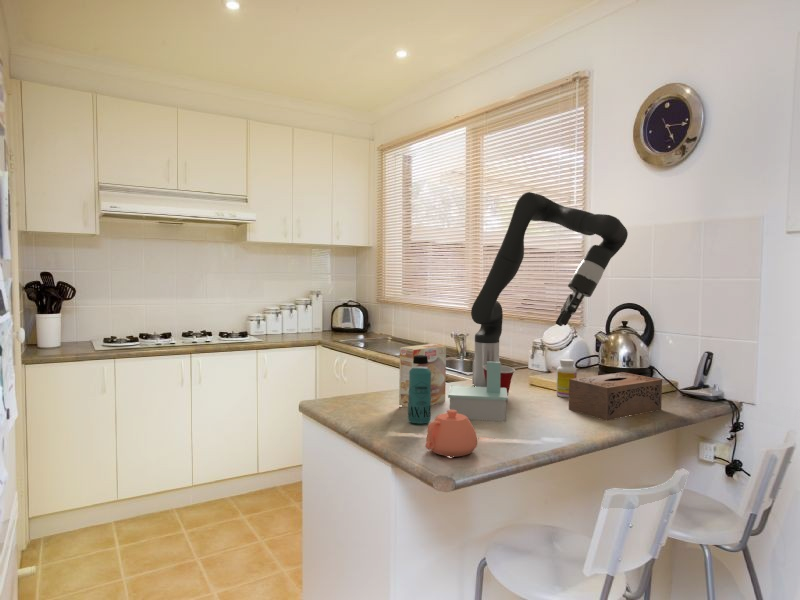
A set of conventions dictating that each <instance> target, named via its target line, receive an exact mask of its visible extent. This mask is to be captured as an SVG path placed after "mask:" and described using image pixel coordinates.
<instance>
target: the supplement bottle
mask: <svg viewBox="0 0 800 600" xmlns="http://www.w3.org/2000/svg"><path fill="white" fill-rule="evenodd" d="M559 364H560V365H559V366H558V367H557V368H556V396H558V397H560V398H565V399H566V398H567V399H569V379H574V378H577V371H578V370H577V369H576V367H575V366H574V364H575V360H574V359H570V358H562V359H559Z"/></svg>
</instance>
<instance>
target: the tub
mask: <svg viewBox="0 0 800 600" xmlns="http://www.w3.org/2000/svg"><path fill="white" fill-rule="evenodd" d="M506 408H507V401H506V400H487V399H466V398H449V410H456V411H457V413H458V414H462V415H465V416H466V417H467V418H468V419H469V421H470V420H471V421H489V422H491V421H492V422H506V415H507V414H506V413H507V411H506V410H507V409H506Z"/></svg>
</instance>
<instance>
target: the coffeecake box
mask: <svg viewBox="0 0 800 600" xmlns="http://www.w3.org/2000/svg"><path fill="white" fill-rule="evenodd" d="M416 355H425V356H427V358H428V363H427V364H414V363H413V360H414V356H416ZM413 367H427V368H429V369H430V371H431V406H433V405H436V404H441V403H445V402H446V382H447V381H446V379H447V378H446V377H447V374H446V373H447V346H446V345H443V344H436V343H429V344H419V345H410V346H409V345H408V346H401V347H399V386H398V388H399V389H398V391H399V392H398V393H399V394H398V396H399V397H398V398H399V399H398V402H399V403H398V406H399V405H402V406H403V407H404V406H405V407H404V408H408V404H409V400H408V396H409V393H408V392H409V371H410V370H411V369H412V368H413Z"/></svg>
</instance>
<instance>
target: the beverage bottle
mask: <svg viewBox="0 0 800 600" xmlns="http://www.w3.org/2000/svg"><path fill="white" fill-rule="evenodd" d="M413 363H414V364H427V363H428V358H427V356H425V355H416V356H414V360H413ZM408 393H409V396H408V400H409V404H408V407H407V408H408V409H407V415H408V416H407V419H408V421H409V422H410V423H413V424H426V423H430V421H431V416H432V405H431V371H430V369H429V368H427V367H413V368H412V369H411V370H410V371H409V392H408Z"/></svg>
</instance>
